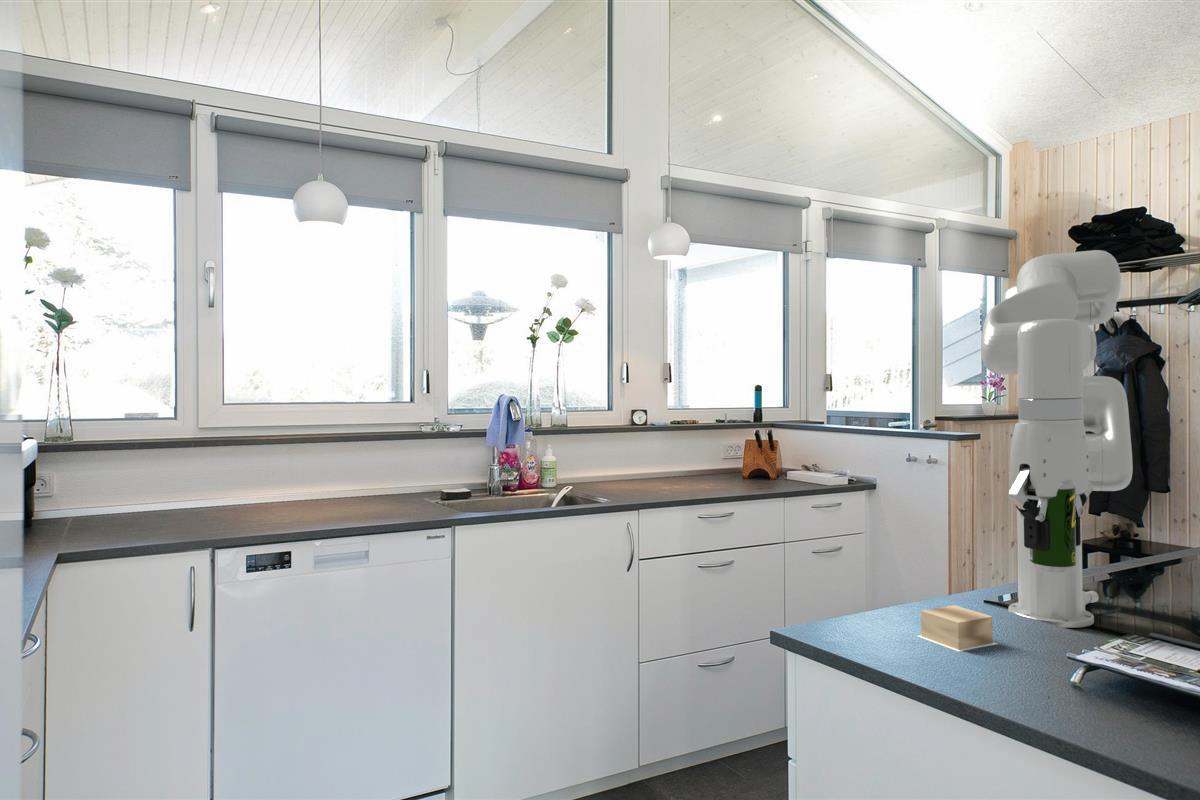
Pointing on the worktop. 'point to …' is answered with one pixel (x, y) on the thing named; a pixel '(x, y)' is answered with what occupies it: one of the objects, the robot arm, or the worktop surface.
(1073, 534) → the beer can
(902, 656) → the worktop surface
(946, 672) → the worktop surface
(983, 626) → the oak block
